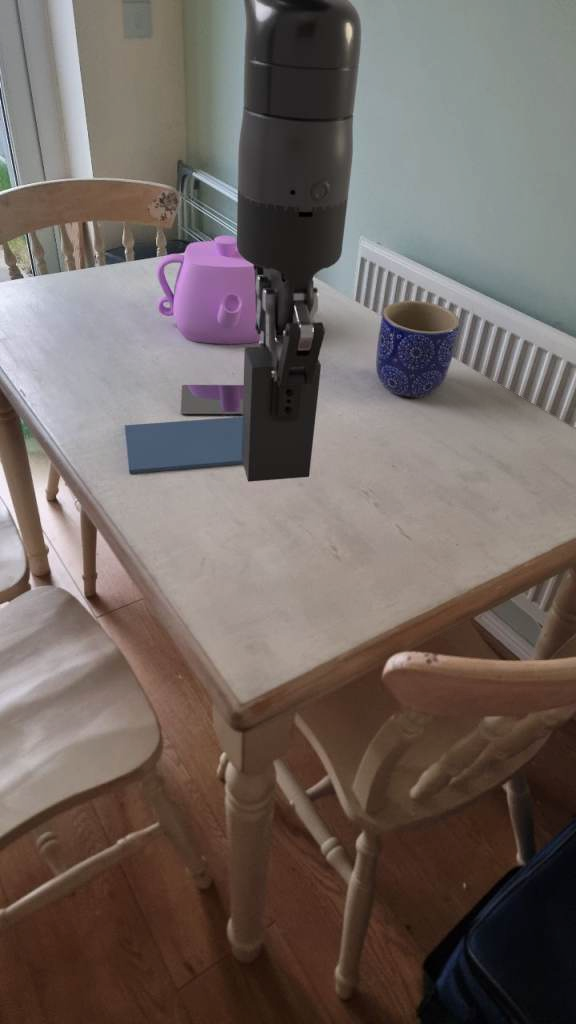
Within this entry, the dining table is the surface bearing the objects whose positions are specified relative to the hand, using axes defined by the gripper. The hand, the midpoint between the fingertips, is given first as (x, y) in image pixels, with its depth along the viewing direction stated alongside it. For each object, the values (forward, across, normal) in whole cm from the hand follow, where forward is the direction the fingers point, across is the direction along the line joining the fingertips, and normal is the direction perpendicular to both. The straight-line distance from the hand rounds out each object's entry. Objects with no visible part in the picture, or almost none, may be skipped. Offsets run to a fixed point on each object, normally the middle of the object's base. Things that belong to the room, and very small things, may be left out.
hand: (278, 404), depth 58 cm
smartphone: (+21, -36, +3) cm, 41 cm away
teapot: (+21, -59, +5) cm, 63 cm away
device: (+6, 0, 0) cm, 6 cm away
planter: (+21, -37, +29) cm, 51 cm away
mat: (+21, -26, -4) cm, 33 cm away
